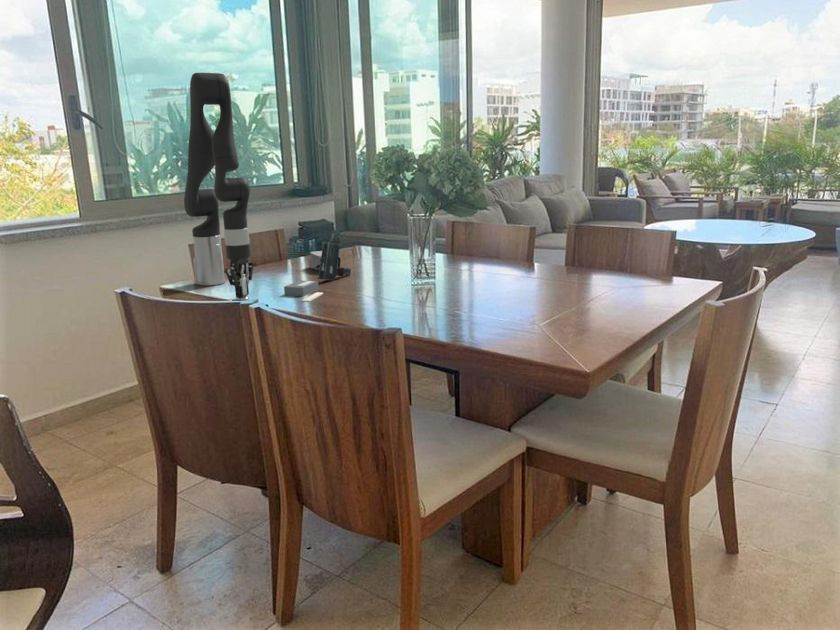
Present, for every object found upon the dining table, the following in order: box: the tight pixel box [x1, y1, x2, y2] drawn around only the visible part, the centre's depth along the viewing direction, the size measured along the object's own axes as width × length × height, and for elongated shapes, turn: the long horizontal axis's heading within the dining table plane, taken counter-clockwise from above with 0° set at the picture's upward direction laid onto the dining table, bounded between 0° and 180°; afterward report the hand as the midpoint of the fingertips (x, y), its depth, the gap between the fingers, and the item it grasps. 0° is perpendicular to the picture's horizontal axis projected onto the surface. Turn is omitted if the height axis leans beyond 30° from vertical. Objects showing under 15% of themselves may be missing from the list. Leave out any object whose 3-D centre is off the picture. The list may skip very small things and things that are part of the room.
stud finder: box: [283, 280, 319, 297], centre depth 215 cm, size 7×10×4 cm
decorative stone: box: [308, 250, 322, 272], centre depth 254 cm, size 15×7×10 cm
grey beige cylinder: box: [235, 274, 250, 301], centre depth 207 cm, size 4×4×8 cm
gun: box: [317, 232, 352, 281], centre depth 234 cm, size 3×17×15 cm
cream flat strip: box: [301, 291, 324, 303], centre depth 207 cm, size 2×11×1 cm, turn 165°
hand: (242, 295), depth 208 cm, fingers closed on grey beige cylinder, 3 cm apart
